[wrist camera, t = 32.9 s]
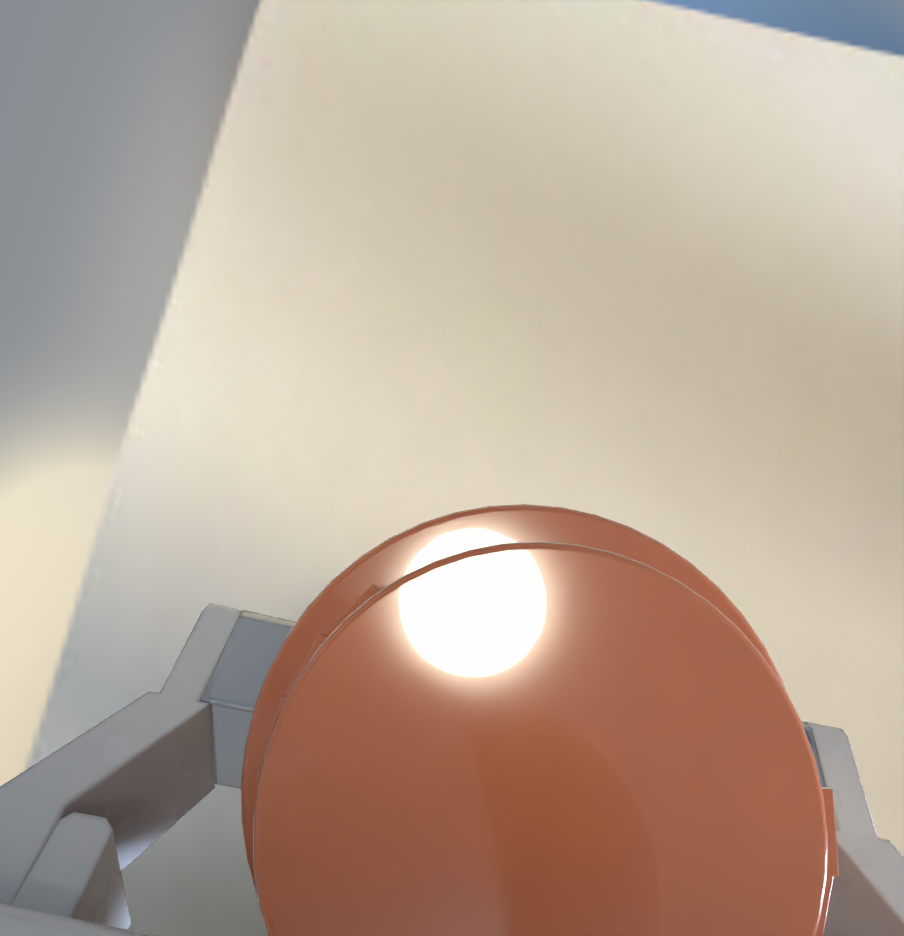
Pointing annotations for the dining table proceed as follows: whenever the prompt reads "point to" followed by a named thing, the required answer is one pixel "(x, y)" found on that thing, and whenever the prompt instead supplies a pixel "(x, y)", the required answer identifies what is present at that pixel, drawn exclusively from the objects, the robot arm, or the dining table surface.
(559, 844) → the jar
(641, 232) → the dining table surface
